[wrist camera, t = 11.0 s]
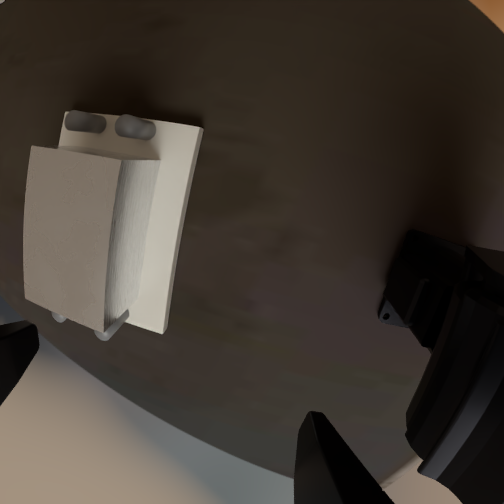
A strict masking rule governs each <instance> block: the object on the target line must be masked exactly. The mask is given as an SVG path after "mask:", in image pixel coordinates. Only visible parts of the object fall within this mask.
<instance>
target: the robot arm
mask: <svg viewBox="0 0 504 504" xmlns="http://www.w3.org/2000/svg"><path fill="white" fill-rule="evenodd" d="M413 235H416V239H415V240H414V241H412V236H413ZM383 294H384V300H383V302H382V305H381V307H380V310H379V312H378V318H379V320H380V321H381V322H382V323H386V324H390V325H395V326H400V327H405V328H409V329H410V330H411V331H412V333H413V334H414V336H415V337H416V338H417V340H418V341H419V343H420V344H421V346H423V347H427V349H428V350H429V351H430V353H431V357H430V359H429V362H428V364H427V367H426V369H425V371H424V374H423V376H422V378H421V381H420V383H419V385H418V387H417V390H416V392H415V394H414V396H413V398H412V400H411V402H410V405H409V407H408V410H407V412H406V426H407V431H406V433H405V436H406V438H407V440H408V442H409V444H410V446H411V448H412V449H413V450H414V451H415V452H416V454H417V455H418V456H419V457H420V458H421V459H422V460H423V462H422V463H421V464H420V466H419V467H418V469H417V471H418V473H420V474H422V475H424V476H427V477H429V478H432V479H434V480H436V481H438V482H439V483H441V484H442V485H444V486H445V487H447V488H448V489H449V490H450V491H451V492H452V493H454V494H455V496H457V498H458V499H459V500H460V501H461V502H462V503H463V504H504V252H503V251H498V250H492V249H486V248H481V247H475V246H469V245H466V247H463V246H460V245H457V244H455V243H452V242H449V241H446V240H444V239H441V238H438V237H435V236H432V235H429V234H426V233H424V232H421V231H418V230H414V229H412V230H410V231H409V232H408V233H407V235H406V238H405V241H404V244H403V247H402V250H401V253H400V256H399V257H398V258H397V259H396V260H395V263H394V266H393V269H392V271H391V274H390V277H389V280H388V282H387V285H386V288H385V290H384V293H383ZM386 313H388V315H387V316H386V317H383V315H384V314H386ZM38 349H39V338H38V329H37V326H36V325H35V324H34V323H32V322H30V321H28V320H24V321H19V322H14V323H9V324H4V325H0V406H1V404H2V403H3V402H4V400H5V399H6V398H7V396H8V395H9V394H10V392H11V391H12V390H13V388H14V387H15V386H16V384H17V383H18V382H19V380H20V378H21V377H22V375H23V374H24V372H25V370H26V369H27V367H28V366H29V364H30V362H31V361H32V359H33V358H34V356H35V354H36V353H37V351H38ZM294 504H394V502H393V501H392V500H391V499H390V498H389V496H388V495H387V494H386V493H385V491H382V488H381V487H380V485H379V484H378V483H377V482H376V480H375V479H374V478H373V477H372V475H371V474H370V473H369V472H368V470H367V469H366V468H365V467H364V465H363V464H362V463H361V462H360V460H359V459H358V458H357V456H356V455H355V454H354V453H353V451H352V450H351V449H350V448H349V446H348V445H347V444H346V442H345V441H344V440H343V438H342V437H341V436H340V435H339V433H338V432H337V431H336V429H335V428H334V427H333V425H332V424H331V423H330V421H329V420H328V419H327V418H326V416H325V415H324V414H323V413H321V412H316V411H309V412H308V413H307V415H306V417H305V419H304V421H303V423H302V425H301V427H300V429H299V433H298V441H297V451H296V460H295V469H294Z"/></svg>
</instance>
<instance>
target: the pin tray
mask: <svg viewBox="0 0 504 504" xmlns="http://www.w3.org/2000/svg"><path fill="white" fill-rule="evenodd" d="M203 130H204V129H203V128H200V127H196V126H190V125H184V124H178V123H171V122H165V121H158V120H150V119H143V118H138V117H135V116H131V115H128V114H124V115H122V116H116V115H106V114H94V113H87V112H82V111H77V110H72V111H70V112H65V116H64V120H63V125H62V130H61V135H60V141H59V146H82V147H88V148H95V149H101V150H107V151H113V152H118V153H124V154H130V155H135V156H140V157H146V158H151V159H156V160H161V162H160V167H159V172H158V176H157V181H156V186H155V191H154V197H153V202H152V208H151V213H150V219H149V225H148V231H147V238H146V244H145V251H144V258H143V266H142V273H141V282H140V290H139V298H138V299H137V300H136V301H135V302H134V303H133V304H132V305H131V306H130V307H129V308H128V309H127V310H126V311H125V312H124V313H123V314H122V315H121V316H120V317H119V318H118V319H117V320H116V321H115V322H114V323H113V324H112V325H111V326H110V327H109V328H108V329H107V330H106V331H105V332H104V333H102V332H99V331H97V330H94V332H95V334H96V336H97V337H98V338H99V339H101V340H103V341H107V340H108V339H109V338H110V337H111V336H112V335H113V334H114V333H115V332H116V331H117V330H118V329H119V327H120V326H121V325H122V324H123V323H124V322H127V323H130V324H133V325H136V326H139V327H142V328H145V329H148V330H151V331H154V332H157V333H160V334H163V333H164V331H165V330H166V328H167V325H168V317H169V310H170V303H171V296H172V289H173V283H174V276H175V270H176V264H177V258H178V252H179V246H180V240H181V235H182V229H183V224H184V219H185V213H186V208H187V203H188V198H189V193H190V188H191V184H192V179H193V174H194V170H195V165H196V161H197V156H198V152H199V147H200V143H201V139H202V135H203ZM51 313H52V316H53V317H54V319H55V320H56V321H58V322H63V321H64V320H66V319H67V318H66V317H64V316H61V315H59V314H57V313H55V312H53V311H51Z"/></svg>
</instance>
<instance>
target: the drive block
mask: <svg viewBox="0 0 504 504" xmlns="http://www.w3.org/2000/svg"><path fill="white" fill-rule="evenodd" d="M160 162H161V160H156V159H151V158H146V157H140V156H135V155H130V154H124V153H118V152H113V151H107V150H101V149H95V148H88V147H82V146H32V147H31V153H30V160H29V167H28V175H27V185H26V196H25V210H24V233H23V264H24V287H25V298H26V299H28V300H30V301H32V302H34V303H36V304H38V305H40V306H42V307H44V308H46V309H48V310H50V311H53V312H55V313H57V314H59V315H61V316H64V317H66V318H68V319H70V320H73V321H75V322H77V323H80V324H82V325H84V326H87V327H89V328H92V329H94V330H97V331H99V332H102V333H104V332H105V331H106V330H107V329H108V328H109V327H110V326H111V325H112V324H113V323H114V322H115V321H116V320H117V319H118V318H119V317H120V316H121V315H122V314H123V313H124V312H125V311H126V310H127V309H128V308H129V307H130V306H131V305H132V304H133V303H134V302H135V301H136V300H137V299H138V298H139V290H140V282H141V273H142V266H143V258H144V251H145V244H146V238H147V231H148V225H149V219H150V213H151V208H152V202H153V197H154V191H155V186H156V181H157V176H158V172H159V167H160Z"/></svg>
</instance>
